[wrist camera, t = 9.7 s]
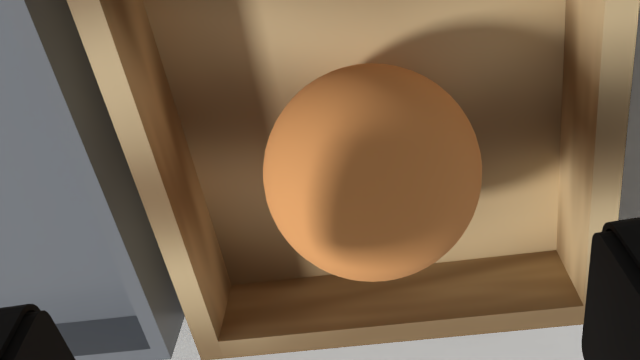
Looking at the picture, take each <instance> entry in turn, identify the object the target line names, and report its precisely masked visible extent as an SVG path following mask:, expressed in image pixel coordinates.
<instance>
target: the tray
mask: <svg viewBox="0 0 640 360" xmlns="http://www.w3.org/2000/svg"><path fill="white" fill-rule="evenodd" d="M67 3H68V5H69V8H70V11H71V14H72V16H73V19H74V22H75V24H76V27H77V30H78V32H79V35H80V38H81V40H82V43H83V46H84V48H85V51H86V54H87V56H88V59H89V62H90V64H91V67H92V70H93V72H94V75H95V78H96V80H97V83H98V86H99V88H100V91H101V94H102V96H103V99H104V102H105V104H106V107H107V110H108V112H109V115H110V118H111V120H112V123H113V126H114V128H115V131H116V134H117V136H118V139H119V142H120V144H121V147H122V150H123V152H124V155H125V158H126V160H127V163H128V166H129V168H130V171H131V174H132V176H133V179H134V182H135V184H136V187H137V190H138V192H139V195H140V198H141V200H142V203H143V206H144V208H145V211H146V214H147V216H148V219H149V222H150V224H151V227H152V230H153V232H154V235H155V238H156V240H157V243H158V246H159V248H160V251H161V254H162V256H163V259H164V262H165V264H166V267H167V270H168V272H169V275H170V278H171V280H172V283H173V286H174V288H175V291H176V294H177V296H178V299H179V302H180V304H181V307H182V310H183V312H184V315H185V318H186V320H187V323H188V326H189V328H190V331H191V334H192V336H193V339H194V342H195V344H196V347H197V350H198V352H199V355H200V358H201V360H212V359H222V358H233V357H244V356H254V355H265V354H275V353H286V352H296V351H307V350H317V349H328V348H338V347H349V346H360V345H370V344H381V343H391V342H402V341H412V340H423V339H433V338H444V337H454V336H465V335H476V334H486V333H497V332H507V331H518V330H528V329H539V328H549V327H560V326H570V325H581V324H584V314H585V304H586V294H587V284H588V274H589V264H590V254H591V244H592V237H593V235H594V233H598V232H602V229H603V226H604V224H605V223H607V222H612V221H618V217H619V207H620V197H621V187H622V177H623V167H624V157H625V147H626V137H627V126H628V116H629V106H630V96H631V86H632V76H633V66H634V56H635V46H636V36H637V25H638V15H639V5H640V0H67ZM367 63H377V64H388V65H394V66H398V67H402V68H405V69H408V70H412V71H414V72H416V73H419V74H421V75H423V76H425V77H427V78H428V79H430V80H432V81H433V82H435V83H436V84H438V85H439V86H440V87H441V88H442V89H444V90H445V91H446V92H447V93H448V94H449V95H450V96H451V97H452V98H453V99H454V100H455V101H456V102H457V103H458V104H459V106H460V107H461V109H462V110H463V112H464V113H465V115H466V116H467V118H468V120H469V121H470V123H471V125H472V128H473V130H474V132H475V134H476V138H477V141H478V145H479V149H480V153H481V160H482V187H481V192H480V197H479V201H478V204H477V207H476V210H475V213H474V216H473V218H472V220H471V222H470V223H469V225H468V227H467V229H466V230H465V232H464V234H463V235H462V236H461V238H460V239H459V241H458V242H457V243H456V244H455V245H454V246H453V247H452V248H451V249H450V250H449V251H448V252H447V253H446V254H445V255H444V256H442V257H441V258H440V259H439V260H438V261H436V262H435V263H433V264H432V265H430V266H429V267H427V268H425V269H423V270H421V271H419V272H417V273H415V274H412V275H409V276H407V277H403V278H399V279H395V280H389V281H378V282H366V281H356V280H350V279H346V278H342V277H338V276H336V275H333V274H330V273H328V272H326V271H324V270H322V269H320V268H318V267H317V266H315V265H314V264H312V263H311V262H309V261H308V260H306V259H305V258H304V257H302V256H301V255H300V254H299V253H298V252H296V250H295V249H294V248H293V247H292V246H291V245H290V244H289V243H288V241H287V240H286V239H285V238H284V236H283V235H282V233H281V232H280V230H279V229H278V227H277V225H276V223H275V221H274V219H273V217H272V215H271V213H270V210H269V207H268V204H267V201H266V195H265V189H264V183H263V163H264V155H265V149H266V145H267V142H268V139H269V136H270V133H271V131H272V128H273V126H274V124H275V122H276V120H277V118H278V117H279V115H280V114H281V112H282V111H283V109H284V108H285V106H286V105H287V104H288V103H289V102H290V101H291V99H292V98H293V97H294V96H295V95H296V94H297V93H298V92H299V91H300V90H302V89H303V88H304V87H305V86H306V85H308V84H309V83H311V82H312V81H314V80H315V79H317V78H319V77H321V76H323V75H325V74H327V73H329V72H331V71H334V70H337V69H340V68H343V67H347V66H351V65H356V64H367Z"/></svg>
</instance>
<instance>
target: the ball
mask: <svg viewBox="0 0 640 360" xmlns="http://www.w3.org/2000/svg"><path fill="white" fill-rule="evenodd" d="M263 183H264V189H265V195H266V201H267V204H268V207H269V210H270V213H271V215H272V217H273V219H274V221H275V223H276V225H277V227H278V229H279V230H280V232H281V233H282V235H283V236H284V238H285V239H286V240H287V241H288V243H289V244H290V245H291V246H292V247H293V248H294V249H295V250H296V252H298V253H299V254H300V255H301V256H302V257H304V258H305V259H306V260H308V261H309V262H311V263H312V264H314V265H315V266H317V267H318V268H320V269H322V270H324V271H326V272H328V273H330V274H333V275H336V276H338V277H342V278H346V279H350V280H356V281H366V282H378V281H389V280H395V279H399V278H403V277H407V276H409V275H412V274H415V273H417V272H419V271H421V270H423V269H425V268H427V267H429V266H430V265H432V264H433V263H435V262H436V261H438V260H439V259H440V258H441V257H442V256H444V255H445V254H446V253H447V252H448V251H449V250H450V249H451V248H452V247H453V246H454V245H455V244H456V243H457V242H458V241H459V239H460V238H461V236H462V235H463V234H464V232H465V230H466V229H467V227H468V225H469V223H470V222H471V220H472V218H473V216H474V213H475V210H476V207H477V204H478V201H479V197H480V192H481V187H482V160H481V153H480V149H479V145H478V141H477V138H476V134H475V132H474V130H473V128H472V125H471V123H470V121H469V120H468V118H467V116H466V115H465V113H464V112H463V110H462V109H461V107H460V106H459V104H458V103H457V102H456V101H455V100H454V99H453V98H452V97H451V96H450V95H449V94H448V93H447V92H446V91H445V90H444V89H442V88H441V87H440V86H439V85H438V84H436V83H435V82H433V81H432V80H430V79H428V78H427V77H425V76H423V75H421V74H419V73H416V72H414V71H412V70H408V69H405V68H402V67H398V66H394V65H388V64H377V63H367V64H356V65H351V66H347V67H343V68H340V69H337V70H334V71H331V72H329V73H327V74H325V75H323V76H321V77H319V78H317V79H315V80H314V81H312V82H311V83H309V84H308V85H306V86H305V87H304V88H303V89H302V90H300V91H299V92H298V93H297V94H296V95H295V96H294V97H293V98H292V99H291V101H290V102H289V103H288V104H287V105H286V106H285V108H284V109H283V111H282V112H281V114H280V115H279V117H278V118H277V120H276V122H275V124H274V126H273V128H272V131H271V133H270V136H269V139H268V142H267V145H266V149H265V155H264V163H263Z"/></svg>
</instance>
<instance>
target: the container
mask: <svg viewBox="0 0 640 360" xmlns="http://www.w3.org/2000/svg"><path fill="white" fill-rule="evenodd" d="M25 304H35V305H36V306H38V308H39V309H40V310H41V311H42V310H45V311H46V312H48V313H49V315H50V316H51V318H52V319H53V321H54V323H55V325H56V326H57V328H58V330H59V332H60V333H61V335H62V337H63V339H64V340H65V342H66V344H67V346H68V347H69V349H70V351H71V352H72V354H73V356H74V358H75V359H76V360H164V359H171V357H172V354H173V351H174V348H175V345H176V342H177V339H178V335H179V332H180V329H181V326H182V323H183V320H184V316H185V315H184V312H183V310H182V307H181V304H180V302H179V299H178V296H177V294H176V291H175V288H174V286H173V283H172V280H171V278H170V275H169V272H168V270H167V267H166V264H165V262H164V259H163V256H162V254H161V251H160V248H159V246H158V243H157V240H156V238H155V235H154V232H153V230H152V227H151V224H150V222H149V219H148V216H147V214H146V211H145V208H144V206H143V203H142V200H141V198H140V195H139V192H138V190H137V187H136V184H135V182H134V179H133V176H132V174H131V171H130V168H129V166H128V163H127V160H126V158H125V155H124V152H123V150H122V147H121V144H120V142H119V139H118V136H117V134H116V131H115V128H114V126H113V123H112V120H111V118H110V115H109V112H108V110H107V107H106V104H105V102H104V99H103V96H102V94H101V91H100V88H99V86H98V83H97V80H96V78H95V75H94V72H93V70H92V67H91V64H90V62H89V59H88V56H87V54H86V51H85V48H84V46H83V43H82V40H81V38H80V35H79V32H78V30H77V27H76V24H75V22H74V19H73V16H72V14H71V11H70V8H69V5H68V3H67V0H0V308H3V307H10V306H17V305H25Z"/></svg>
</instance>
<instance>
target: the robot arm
mask: <svg viewBox="0 0 640 360" xmlns="http://www.w3.org/2000/svg"><path fill="white" fill-rule="evenodd" d="M582 352H583V357H584V360H640V218H633V219H626V220H619V221H612V222H607V223H605V224H604V226H603V229H602V232H598V233H594V235H593V237H592V244H591V254H590V264H589V274H588V284H587V294H586V304H585V314H584V324H583V335H582ZM0 360H76V359H75V358H74V356H73V354H72V352H71V351H70V349H69V347H68V346H67V344H66V342H65V340H64V339H63V337H62V335H61V333H60V332H59V330H58V328H57V326H56V325H55V323H54V321H53V319H52V318H51V316H50V315H49V313H48V312H46V311H45V310H42V311H41V310H40V309H39V308H38V306H36V305H35V304H25V305H17V306H10V307H3V308H0Z"/></svg>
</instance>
